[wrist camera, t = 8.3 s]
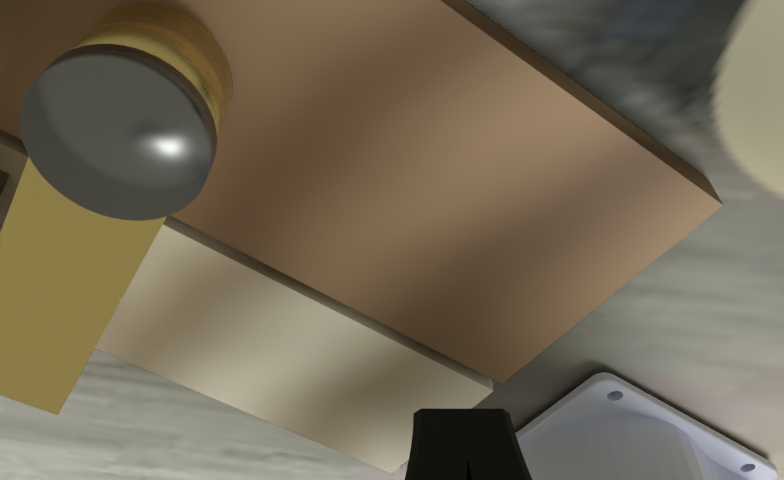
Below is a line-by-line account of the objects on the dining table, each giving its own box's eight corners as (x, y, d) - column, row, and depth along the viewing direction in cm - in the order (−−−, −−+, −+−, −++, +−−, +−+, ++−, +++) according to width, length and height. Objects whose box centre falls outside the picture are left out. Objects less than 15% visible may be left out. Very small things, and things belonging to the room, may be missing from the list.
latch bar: (105, -35, 15) (50, 22, 12) (264, 54, 16) (239, 122, 14) (-25, 311, 21) (-79, 392, 19) (95, 357, 22) (59, 439, 20)
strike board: (708, 179, 20) (758, 265, 17) (391, 445, 28) (389, 535, 25) (66, -293, 13) (-24, -281, 11) (-110, 225, 21) (-189, 311, 18)
